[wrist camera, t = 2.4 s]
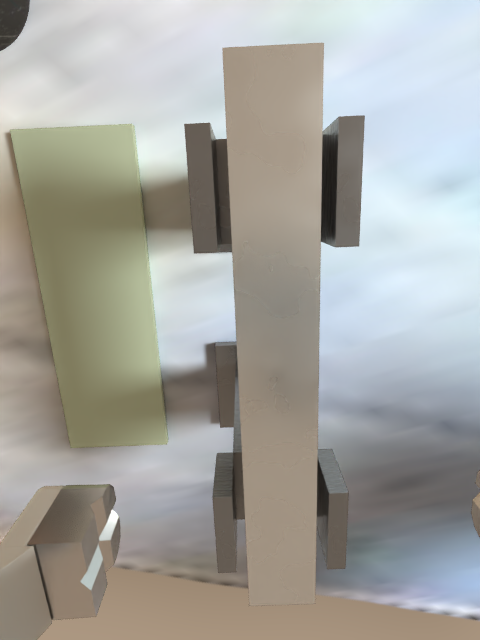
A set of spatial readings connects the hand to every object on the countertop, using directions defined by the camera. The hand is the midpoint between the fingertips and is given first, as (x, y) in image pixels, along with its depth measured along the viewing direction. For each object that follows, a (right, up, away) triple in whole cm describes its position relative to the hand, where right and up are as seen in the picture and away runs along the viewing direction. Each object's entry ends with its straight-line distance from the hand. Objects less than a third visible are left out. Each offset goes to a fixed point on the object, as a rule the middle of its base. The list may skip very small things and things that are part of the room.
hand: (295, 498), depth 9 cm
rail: (0, +2, +9) cm, 9 cm away
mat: (-12, +5, +20) cm, 24 cm away
